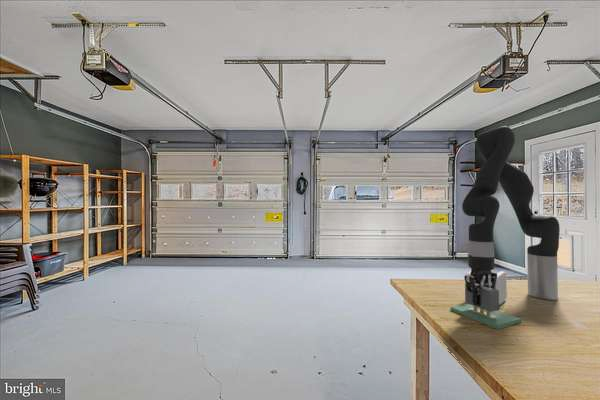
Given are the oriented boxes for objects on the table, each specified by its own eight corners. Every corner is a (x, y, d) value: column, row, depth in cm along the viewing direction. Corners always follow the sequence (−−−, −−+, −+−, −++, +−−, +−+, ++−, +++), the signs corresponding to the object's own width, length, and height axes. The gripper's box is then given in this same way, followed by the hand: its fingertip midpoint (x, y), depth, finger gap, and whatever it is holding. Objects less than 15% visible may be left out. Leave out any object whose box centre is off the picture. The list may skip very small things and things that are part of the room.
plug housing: (473, 300, 98) (473, 282, 98) (499, 309, 90) (498, 289, 90) (465, 302, 96) (465, 283, 96) (490, 311, 88) (490, 291, 88)
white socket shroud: (496, 310, 98) (496, 278, 98) (464, 302, 106) (464, 272, 106) (507, 300, 108) (507, 270, 108) (477, 293, 116) (476, 266, 116)
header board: (473, 305, 103) (472, 292, 103) (520, 322, 88) (520, 307, 88) (450, 310, 98) (450, 297, 98) (497, 329, 84) (497, 314, 84)
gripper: (483, 250, 99) (484, 297, 99) (456, 253, 94) (456, 303, 94) (505, 254, 92) (506, 304, 92) (477, 257, 87) (478, 311, 87)
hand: (481, 303), depth 93 cm, fingers closed on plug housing, 4 cm apart
